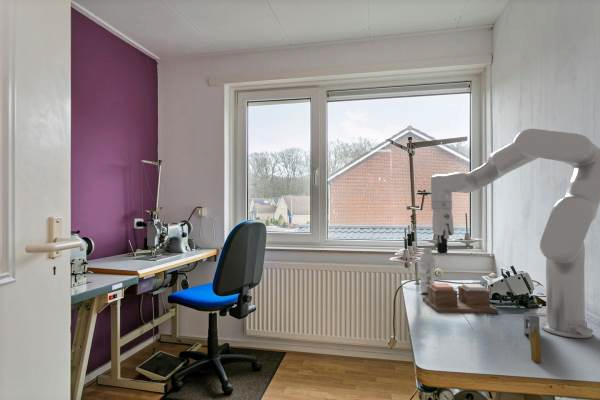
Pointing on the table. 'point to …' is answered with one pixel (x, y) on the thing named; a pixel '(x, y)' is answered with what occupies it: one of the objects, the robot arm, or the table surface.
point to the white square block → (473, 287)
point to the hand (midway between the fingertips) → (442, 253)
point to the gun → (533, 335)
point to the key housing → (459, 301)
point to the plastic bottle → (427, 270)
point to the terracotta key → (442, 287)
